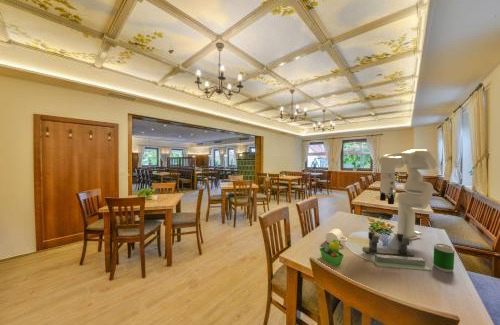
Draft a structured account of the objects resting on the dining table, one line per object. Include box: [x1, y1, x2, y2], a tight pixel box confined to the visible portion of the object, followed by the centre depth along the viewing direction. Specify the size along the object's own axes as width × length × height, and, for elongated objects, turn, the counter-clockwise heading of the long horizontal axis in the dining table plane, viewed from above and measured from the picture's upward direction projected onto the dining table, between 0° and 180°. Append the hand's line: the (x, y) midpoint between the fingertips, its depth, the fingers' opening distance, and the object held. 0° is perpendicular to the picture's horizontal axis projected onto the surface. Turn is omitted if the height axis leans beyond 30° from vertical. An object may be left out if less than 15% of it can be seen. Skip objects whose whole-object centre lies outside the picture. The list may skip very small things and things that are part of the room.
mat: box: [370, 256, 432, 272], centre depth 106 cm, size 25×8×1 cm, turn 81°
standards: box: [362, 231, 415, 257], centre depth 118 cm, size 25×6×11 cm, turn 81°
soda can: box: [432, 243, 455, 273], centre depth 102 cm, size 8×8×12 cm
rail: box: [374, 254, 426, 266], centre depth 106 cm, size 23×3×3 cm, turn 81°
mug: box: [325, 228, 348, 245], centre depth 131 cm, size 12×10×8 cm
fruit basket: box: [319, 239, 345, 266], centre depth 110 cm, size 11×9×11 cm
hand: (386, 202), depth 127 cm, fingers open, 9 cm apart
